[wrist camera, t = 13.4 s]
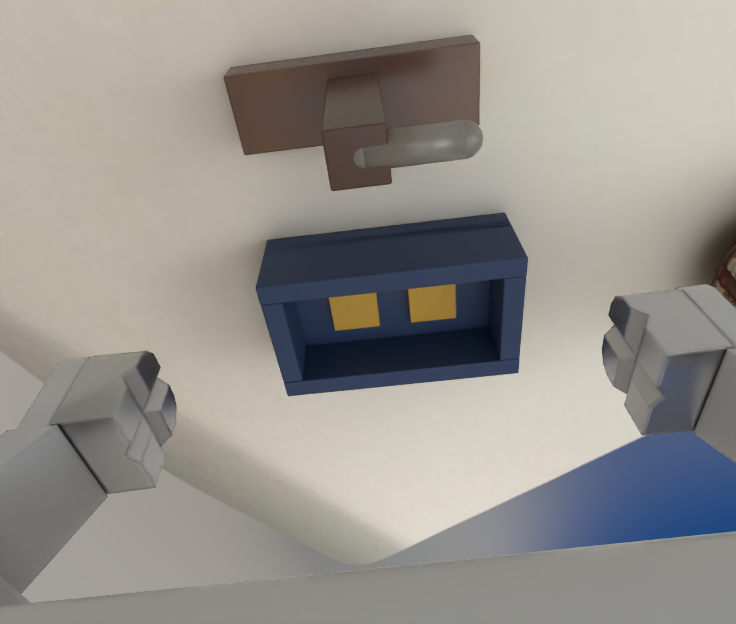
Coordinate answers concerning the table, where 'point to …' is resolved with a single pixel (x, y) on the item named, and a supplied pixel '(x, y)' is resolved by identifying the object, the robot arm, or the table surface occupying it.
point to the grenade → (727, 276)
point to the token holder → (395, 304)
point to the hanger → (364, 107)
